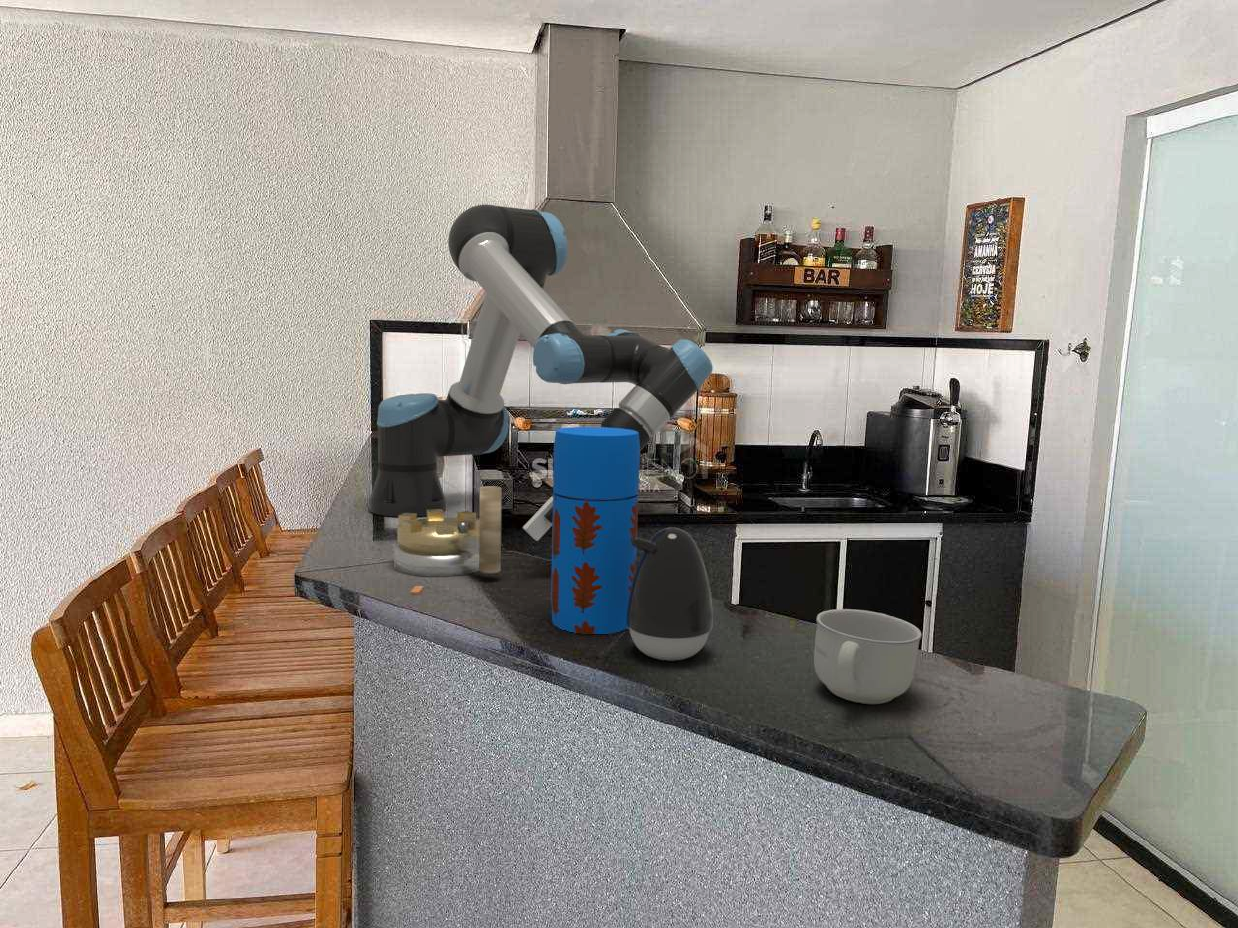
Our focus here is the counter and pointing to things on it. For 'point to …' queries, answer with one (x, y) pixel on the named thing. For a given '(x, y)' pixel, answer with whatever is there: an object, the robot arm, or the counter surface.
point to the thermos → (594, 527)
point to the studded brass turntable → (457, 532)
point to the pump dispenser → (669, 597)
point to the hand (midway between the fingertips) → (529, 534)
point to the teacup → (865, 654)
